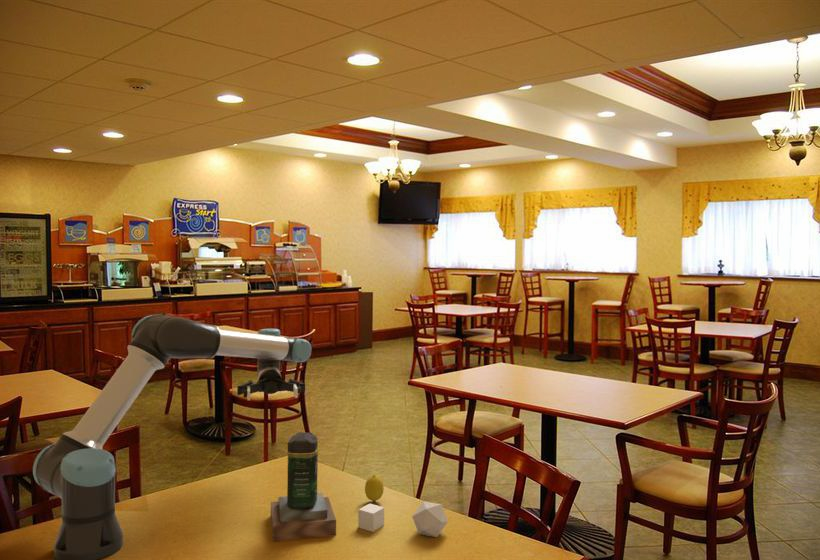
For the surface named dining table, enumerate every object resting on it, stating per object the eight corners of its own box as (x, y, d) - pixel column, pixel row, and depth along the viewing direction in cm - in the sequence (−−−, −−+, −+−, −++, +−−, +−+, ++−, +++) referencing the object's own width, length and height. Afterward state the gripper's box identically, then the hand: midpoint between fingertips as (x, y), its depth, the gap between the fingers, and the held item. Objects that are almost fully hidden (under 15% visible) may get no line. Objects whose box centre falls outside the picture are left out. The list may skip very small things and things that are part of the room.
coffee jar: (315, 510, 162) (315, 440, 162) (285, 510, 162) (285, 440, 161) (319, 496, 172) (319, 429, 171) (290, 496, 172) (290, 430, 171)
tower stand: (273, 541, 157) (273, 518, 157) (270, 516, 173) (270, 494, 172) (336, 534, 161) (336, 512, 161) (328, 510, 177) (328, 489, 177)
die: (451, 533, 165) (438, 497, 169) (451, 529, 157) (436, 492, 161) (423, 545, 164) (410, 509, 168) (421, 542, 156) (407, 504, 161)
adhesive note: (373, 532, 163) (373, 513, 163) (358, 527, 166) (358, 509, 166) (384, 525, 168) (384, 507, 167) (369, 521, 170) (369, 503, 170)
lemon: (362, 504, 181) (362, 477, 181) (368, 497, 187) (368, 471, 186) (379, 506, 180) (380, 479, 180) (386, 499, 185) (386, 473, 185)
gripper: (308, 390, 205) (315, 405, 185) (230, 393, 199) (228, 409, 178) (308, 367, 205) (315, 379, 184) (230, 370, 198) (228, 383, 178)
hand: (272, 394), depth 181 cm, fingers open, 13 cm apart
